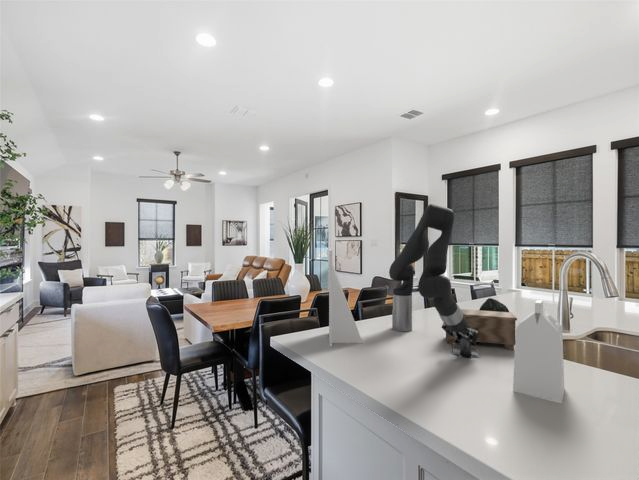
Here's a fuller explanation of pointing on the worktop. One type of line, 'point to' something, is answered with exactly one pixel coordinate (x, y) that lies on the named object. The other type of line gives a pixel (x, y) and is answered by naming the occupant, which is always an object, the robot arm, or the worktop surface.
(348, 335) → the white bracket plate
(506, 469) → the worktop surface
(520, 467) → the worktop surface
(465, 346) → the joystick
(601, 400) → the worktop surface
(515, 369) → the milk
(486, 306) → the squash
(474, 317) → the cabinet
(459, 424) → the worktop surface
